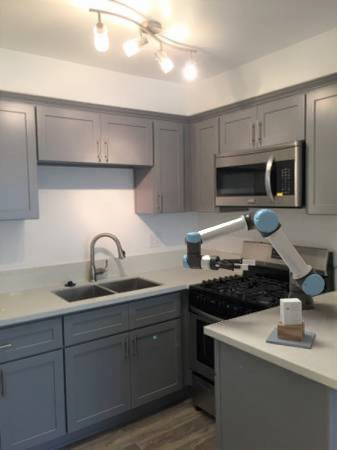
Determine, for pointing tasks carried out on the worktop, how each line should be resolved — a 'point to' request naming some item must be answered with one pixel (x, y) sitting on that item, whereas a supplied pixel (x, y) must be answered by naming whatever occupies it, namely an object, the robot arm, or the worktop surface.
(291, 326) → the walnut plinth
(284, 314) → the small box
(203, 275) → the worktop surface
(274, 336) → the base board
